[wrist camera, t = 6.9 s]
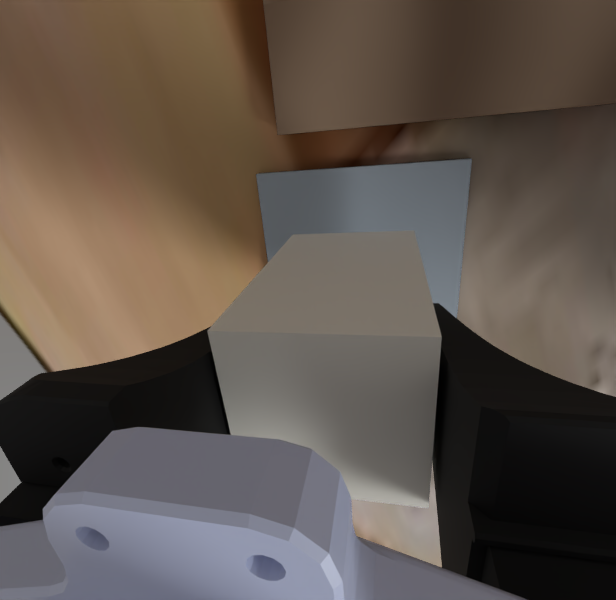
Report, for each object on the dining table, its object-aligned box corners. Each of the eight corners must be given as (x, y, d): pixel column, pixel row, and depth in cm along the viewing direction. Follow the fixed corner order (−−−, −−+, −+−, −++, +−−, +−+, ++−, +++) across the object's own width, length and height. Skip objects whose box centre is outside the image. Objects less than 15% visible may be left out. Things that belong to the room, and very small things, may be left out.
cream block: (414, 230, 13) (441, 337, 6) (410, 338, 15) (428, 508, 8) (292, 234, 14) (207, 331, 7) (303, 335, 16) (242, 485, 9)
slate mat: (469, 158, 15) (472, 158, 14) (452, 348, 18) (453, 352, 18) (259, 173, 17) (255, 174, 16) (281, 342, 20) (279, 346, 20)
